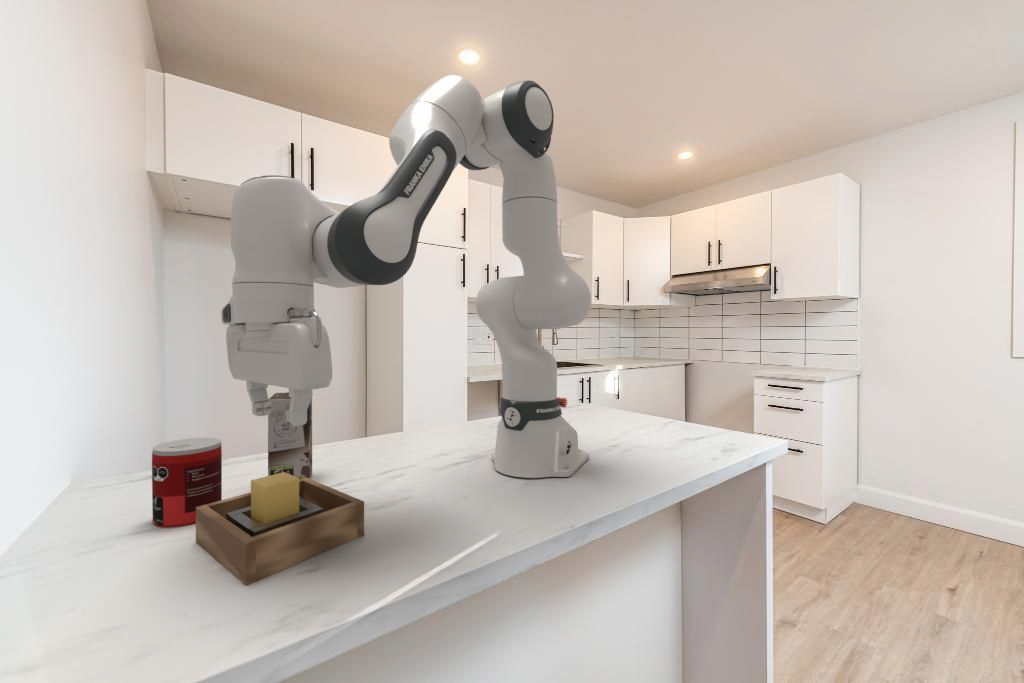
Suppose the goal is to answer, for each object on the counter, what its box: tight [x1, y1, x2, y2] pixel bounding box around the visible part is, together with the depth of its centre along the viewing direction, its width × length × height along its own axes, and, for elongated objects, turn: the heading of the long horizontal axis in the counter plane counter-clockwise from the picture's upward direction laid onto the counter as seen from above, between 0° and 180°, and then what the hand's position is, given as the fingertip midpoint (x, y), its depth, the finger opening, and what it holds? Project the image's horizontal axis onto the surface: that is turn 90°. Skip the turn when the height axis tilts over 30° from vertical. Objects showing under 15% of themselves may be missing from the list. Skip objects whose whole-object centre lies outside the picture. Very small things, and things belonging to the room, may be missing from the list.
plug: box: [250, 472, 299, 525], centre depth 53 cm, size 4×4×8 cm
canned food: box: [151, 437, 223, 529], centre depth 60 cm, size 8×8×11 cm
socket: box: [226, 497, 323, 537], centre depth 53 cm, size 8×8×4 cm
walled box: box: [195, 477, 365, 587], centre depth 54 cm, size 14×15×5 cm
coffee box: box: [267, 391, 313, 480], centre depth 75 cm, size 9×6×16 cm
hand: (278, 419), depth 53 cm, fingers open, 8 cm apart
